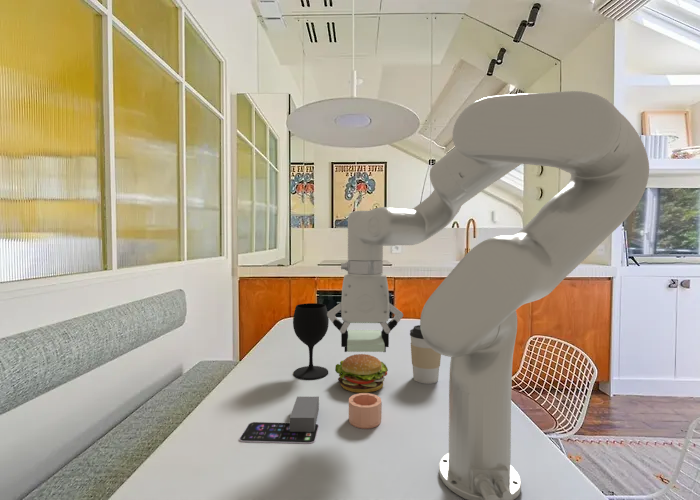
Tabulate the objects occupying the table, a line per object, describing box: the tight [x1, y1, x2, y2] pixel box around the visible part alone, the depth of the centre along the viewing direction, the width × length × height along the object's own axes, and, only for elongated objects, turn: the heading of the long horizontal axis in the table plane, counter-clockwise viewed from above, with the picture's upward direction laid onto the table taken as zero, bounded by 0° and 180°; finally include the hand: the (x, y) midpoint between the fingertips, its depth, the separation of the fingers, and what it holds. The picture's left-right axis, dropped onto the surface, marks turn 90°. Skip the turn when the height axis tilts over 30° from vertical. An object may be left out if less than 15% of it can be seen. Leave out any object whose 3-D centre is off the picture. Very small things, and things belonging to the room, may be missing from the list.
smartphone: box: [239, 421, 320, 445], centre depth 73 cm, size 8×1×15 cm
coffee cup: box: [409, 324, 442, 384], centre depth 102 cm, size 9×9×15 cm
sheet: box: [346, 329, 386, 353], centre depth 78 cm, size 12×8×1 cm, turn 0°
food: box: [335, 353, 389, 394], centre depth 98 cm, size 14×14×8 cm
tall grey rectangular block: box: [289, 396, 320, 432], centre depth 78 cm, size 10×5×3 cm, turn 179°
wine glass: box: [292, 302, 330, 381], centre depth 106 cm, size 10×10×20 cm
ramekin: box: [348, 392, 383, 430], centre depth 78 cm, size 7×7×4 cm
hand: (364, 349), depth 78 cm, fingers closed on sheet, 7 cm apart
